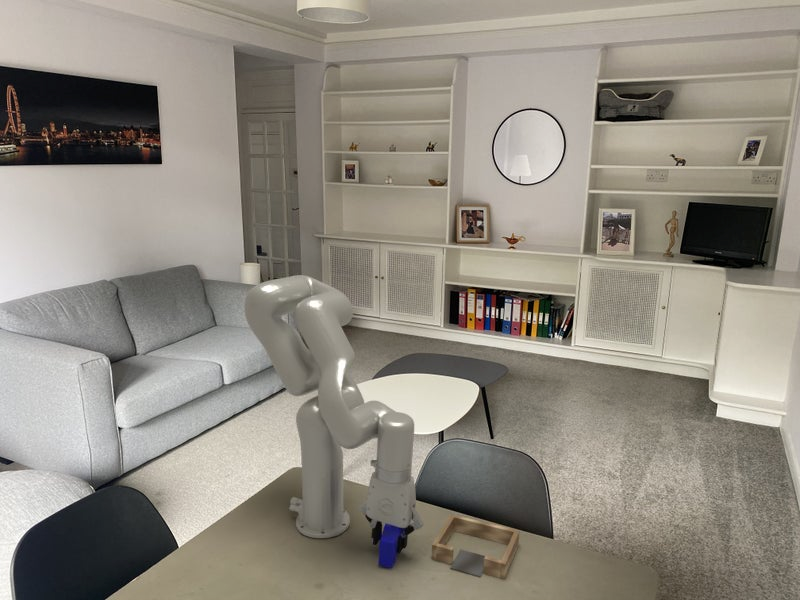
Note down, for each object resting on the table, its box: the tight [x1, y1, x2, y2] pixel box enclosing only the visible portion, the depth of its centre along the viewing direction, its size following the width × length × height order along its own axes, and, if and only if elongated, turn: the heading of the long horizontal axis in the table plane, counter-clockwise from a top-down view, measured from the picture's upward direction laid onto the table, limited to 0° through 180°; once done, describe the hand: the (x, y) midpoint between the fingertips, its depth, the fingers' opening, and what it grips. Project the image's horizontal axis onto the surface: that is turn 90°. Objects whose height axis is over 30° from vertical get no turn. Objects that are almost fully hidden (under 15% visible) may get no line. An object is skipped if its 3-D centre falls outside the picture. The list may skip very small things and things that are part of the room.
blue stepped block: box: [378, 523, 400, 569], centre depth 135 cm, size 12×4×6 cm, turn 166°
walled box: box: [431, 514, 520, 580], centre depth 135 cm, size 16×14×4 cm
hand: (389, 544), depth 135 cm, fingers closed on blue stepped block, 5 cm apart
